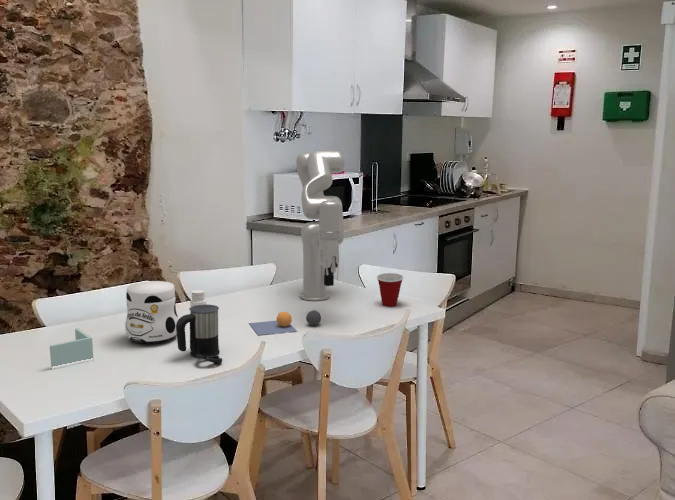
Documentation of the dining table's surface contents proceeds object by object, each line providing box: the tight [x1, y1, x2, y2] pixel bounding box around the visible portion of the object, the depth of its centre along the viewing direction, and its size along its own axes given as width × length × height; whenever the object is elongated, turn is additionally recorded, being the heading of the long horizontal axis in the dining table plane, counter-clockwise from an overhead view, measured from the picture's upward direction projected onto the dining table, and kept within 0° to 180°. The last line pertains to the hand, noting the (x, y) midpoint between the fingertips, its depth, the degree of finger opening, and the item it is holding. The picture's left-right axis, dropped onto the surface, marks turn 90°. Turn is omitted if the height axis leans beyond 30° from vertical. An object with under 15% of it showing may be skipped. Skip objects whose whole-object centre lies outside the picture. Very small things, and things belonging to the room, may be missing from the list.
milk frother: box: [176, 303, 223, 365], centre depth 200 cm, size 14×16×15 cm
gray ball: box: [305, 309, 322, 326], centre depth 234 cm, size 5×5×5 cm
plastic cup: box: [376, 272, 405, 308], centre depth 260 cm, size 11×11×12 cm
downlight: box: [189, 289, 207, 314], centre depth 240 cm, size 8×7×10 cm
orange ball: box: [276, 311, 293, 327], centre depth 232 cm, size 5×5×5 cm
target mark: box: [248, 320, 298, 337], centre depth 231 cm, size 14×14×1 cm
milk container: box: [124, 280, 179, 344], centre depth 216 cm, size 17×17×18 cm
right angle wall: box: [49, 328, 94, 367], centre depth 197 cm, size 12×12×8 cm
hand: (328, 285), depth 235 cm, fingers closed
